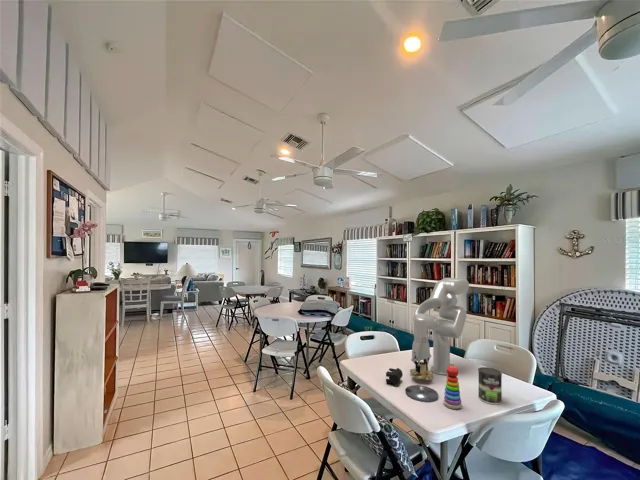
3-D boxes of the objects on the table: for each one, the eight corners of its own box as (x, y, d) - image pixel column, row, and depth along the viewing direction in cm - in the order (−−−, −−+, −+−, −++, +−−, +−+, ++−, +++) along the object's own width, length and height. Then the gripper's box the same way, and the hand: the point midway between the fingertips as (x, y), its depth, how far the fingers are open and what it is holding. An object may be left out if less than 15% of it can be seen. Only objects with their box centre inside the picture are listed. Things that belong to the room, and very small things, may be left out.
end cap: (398, 387, 160) (398, 374, 160) (385, 384, 163) (385, 372, 164) (402, 380, 169) (402, 368, 169) (390, 378, 172) (390, 366, 172)
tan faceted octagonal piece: (421, 368, 178) (421, 357, 178) (438, 376, 167) (438, 365, 167) (405, 373, 172) (405, 361, 172) (422, 381, 161) (422, 369, 161)
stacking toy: (440, 401, 145) (440, 362, 146) (456, 401, 146) (455, 362, 147) (448, 410, 137) (448, 368, 138) (465, 409, 138) (465, 368, 139)
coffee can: (504, 406, 141) (503, 376, 142) (479, 402, 145) (479, 372, 146) (499, 397, 151) (499, 368, 152) (477, 393, 155) (476, 365, 156)
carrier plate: (420, 385, 163) (420, 378, 163) (445, 397, 149) (445, 390, 149) (398, 390, 156) (398, 383, 156) (422, 404, 142) (422, 396, 142)
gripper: (426, 335, 177) (427, 365, 177) (405, 339, 169) (405, 371, 169) (436, 338, 171) (437, 370, 170) (415, 343, 163) (415, 376, 162)
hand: (421, 370), depth 170 cm, fingers closed on tan faceted octagonal piece, 5 cm apart
